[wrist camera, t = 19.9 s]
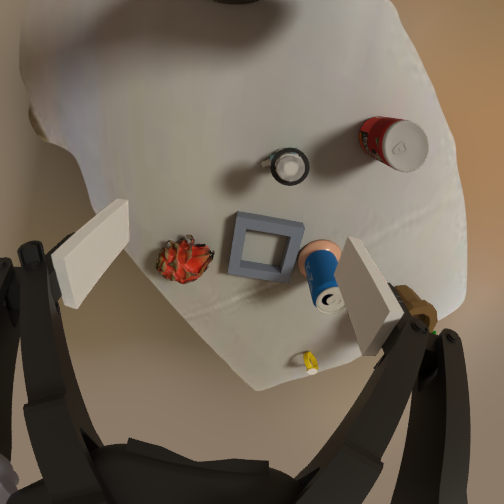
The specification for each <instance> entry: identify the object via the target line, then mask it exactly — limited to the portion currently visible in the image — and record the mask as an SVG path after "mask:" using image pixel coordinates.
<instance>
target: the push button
mask: <svg viewBox="0 0 504 504" xmlns="http://www.w3.org/2000/svg"><path fill="white" fill-rule="evenodd" d="M300 156H301V158H302V159H303V160H302V159H301V158H300ZM264 163H266V164H264ZM261 164H262V167H266V166H270V168H271V173H272V175H273V177H274V178H275V179H276V180H277V181H278V182H279V183H281V184H283V185H288V186H292V185H297V184H299V183H301V182H302V181H303V180H304V179H305V178H306V177H307V175H308V173H309V161H308V159H307V157H306V155H305V154H304V153H303V152H301V151H300V150H298V149H297V148H285V147H284V148H280V149H279V151H278V152H277V153H276V154H273V155H270V158H269V159H267V160H266V161H263V162H261Z"/></svg>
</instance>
